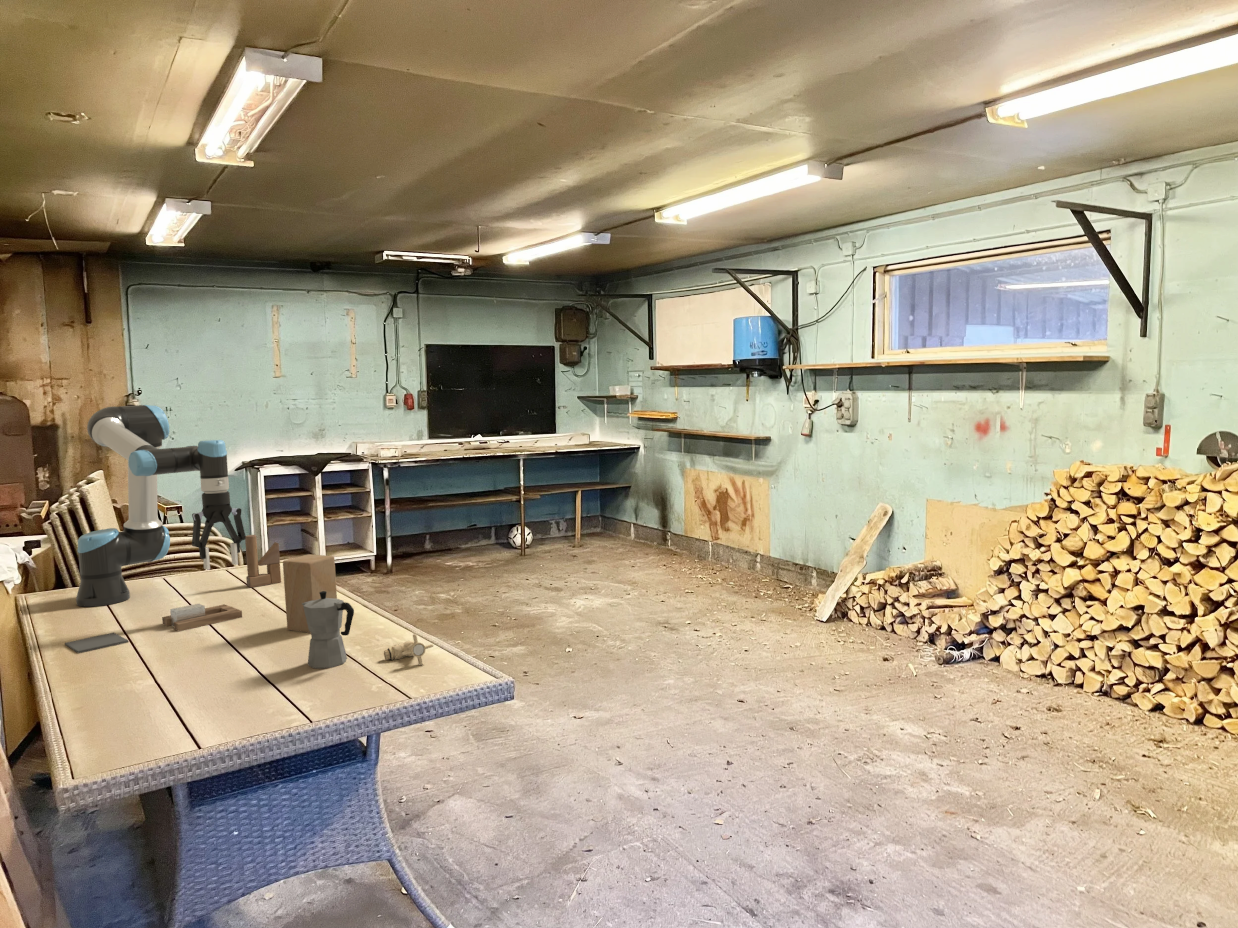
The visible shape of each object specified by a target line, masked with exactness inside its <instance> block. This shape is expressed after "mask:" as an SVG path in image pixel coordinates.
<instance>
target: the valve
mask: <svg viewBox="0 0 1238 928" xmlns="http://www.w3.org/2000/svg"><path fill="white" fill-rule="evenodd" d="M430 648H434V644H428V645H424V644H423V643H422V642H419V641H418V636H417V634H416V633H415V634H412V640H408V641H405V642H403V643H401V644H400V643H398V644H394V645H392V646H391V647H388V648H387V649H385V650H383V656H384V659H385V661H388V660H390V661H393V660H401V659H403V657H416V659H417V662H418V666H423V659H422V657H423V656H424V654H425V653H426V650H427V649H430Z"/></svg>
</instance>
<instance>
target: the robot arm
mask: <svg viewBox="0 0 1238 928" xmlns="http://www.w3.org/2000/svg"><path fill="white" fill-rule="evenodd" d="M86 427H87V428H86V429H87V434H88V436H89V438H90V439H91V440H92V442H94V443H96V444H97V445H99V446H101V447H108V448H109V449H111V450H112V451H113V452H115V453H116V454H118V455H119V456H121V457H122V458H124V459H125V460H126V461H127V486H128V487H127V488H128V489H127V491H128V493H127V494H128V495H127V496H128V497H127V498H128V500H127V501H128V507H127V508H128V520H127V521H125V522H124V523H123V530H122V531H119V529H117V528H115V527H112V528H111V527H109V528H105V529H104V528H103V529H99V530H94V531H90V532H87V533H85V534H82V535H81V536H80V537H79V538H78V540H77V551H76V552H77V555H78V563H79V575H80V583H79V586H78V590H77V594H76V597H75V598H76V599H75V601H76V606H78V607H86V608H87V607H89V608H90V607H99V606H101V607H102V606H108V605H113V604H119V603H121V602H124V601H128V600H129V599H130V597H131V595H130V594H131V593H130V590H129V587H128V585H127V583H126V582H125V579H124V576H123V573H122V572H123V571H122V567H125V566H131V565H132V566H133V565H138V564H144V563H152V562H155V561H158V560H162V559H164V557H165V556H166V555H167V554H168V552H169V549H170V545H171V535H169V534H170V532H169V531H170V530H169V529H168V527H166V526H165V525H163V521H161V520H160V519H159V517H158V516H159V515H158V475H167V474H177V473H188V472H199V477H200V491H201V492H202V493H201V502H202V503H201V504H202V510H201V511H199V512H196V513H195V512H193V513H192V514H191V518H192V520H193V525H192V539H191V546H192V547H195V548H198V549H199V551H198V552H199V559H201V560H203V569H204V570H206V571H208V570H211V563H210V562H211V561H210V548H209V547H206V546H207V544H208V541H209V538H210V534H211V532H212V528H213V527H214V525H215V524H217V523H222V524H223V525H224V526H225V528H226V531H227V533H228V536H229V537H230V539H231V540H232V542H230V555H231V557H230V558H231V565H235V566H238V565H239V558H238V557H239V555H238V554H240V552H241V545H240V544H241V542H242V541H245V539H246V536H247V535H246V532H245V530H244V524H243V519H242V509H241V508H239V507H235V508H234V507H232V506H231V499H230V498H231V497H230V495H231V494H230V492H229V491H228V490H230V486H229V485H230V484H229V482H230V481H229V473H228V472H229V471H228V469H229V468H228V456H227V455H228V451H227V447H226V442H225V441H224V439H208V440H207V439H206V440H204V439H203V440H200V441H199V442H198V443H197V445H187V446H182V447H180V446H178V447H167V448H162V446H163V440H167V439H168V437H169V435H170V423H169V420H168V417H167V415H166V413H165V411H164V410H163V409H162V408H161V407H159V406H157V405H150V404H149V405H147V404H141V405H139V404H136V405H121V406H115V405H114V406H107V407H103V408H101V409H99V410H97V411H96V412H94V413H93V414H92V415H91V416H90V418H89V420H88V422H87V426H86ZM231 513H232V516H233V520H234V524H235V525H234V526H235V528H236V530H235V528H234V526H233V523H232V521H231V519H230V514H231ZM203 517H204V518H205V522H204V527H203V529H202V530H203V531H202V533H201V526H202V519H203Z"/></svg>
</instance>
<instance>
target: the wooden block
mask: <svg viewBox="0 0 1238 928" xmlns="http://www.w3.org/2000/svg"><path fill="white" fill-rule="evenodd" d="M282 568H283V569H282V571H283V586H284V598H285V599H284V600H285V610H286V611H285V614H286V615H285V616H286V627H287V630H288V631H292V632H293V631H294V632H300V633H310V634H311V632H310V631H309V629H308V624H307V620H306V616H305V611H304V607H303V606H304V605H302V603H304V602H308V601H312V600H318V599H321V596H320V592H322V591H326V592H327V593H326V598H335V599H338V596H337V595H338V594H337V593H338V592H337V591H338V590H337V579H336V578H337V577H336V564H335V556H334V555H325V554H324V555H323V554H310V553H309V554H304V555H300V556H296V557H292V558H289V559H286V560H285V559H284V560H283V561H282Z"/></svg>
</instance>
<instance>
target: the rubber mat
mask: <svg viewBox="0 0 1238 928" xmlns="http://www.w3.org/2000/svg"><path fill="white" fill-rule="evenodd" d="M127 643H129V640H128V639H127V638H125V637H123V636H121V635H120V634H117V633H116V632H109V633H105V634H101V635H95V636H91V637H86V638H81V639H76V640H73V641H72V640H70V641H67V642H64V645H65V646H66V647H67V648H69V649H70V650H72V651H74V652H75V653H77V654H82V653H86V652H91V651H95V650H100V649H104V648H109V647H112V646H117V645H122V644H127Z"/></svg>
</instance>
